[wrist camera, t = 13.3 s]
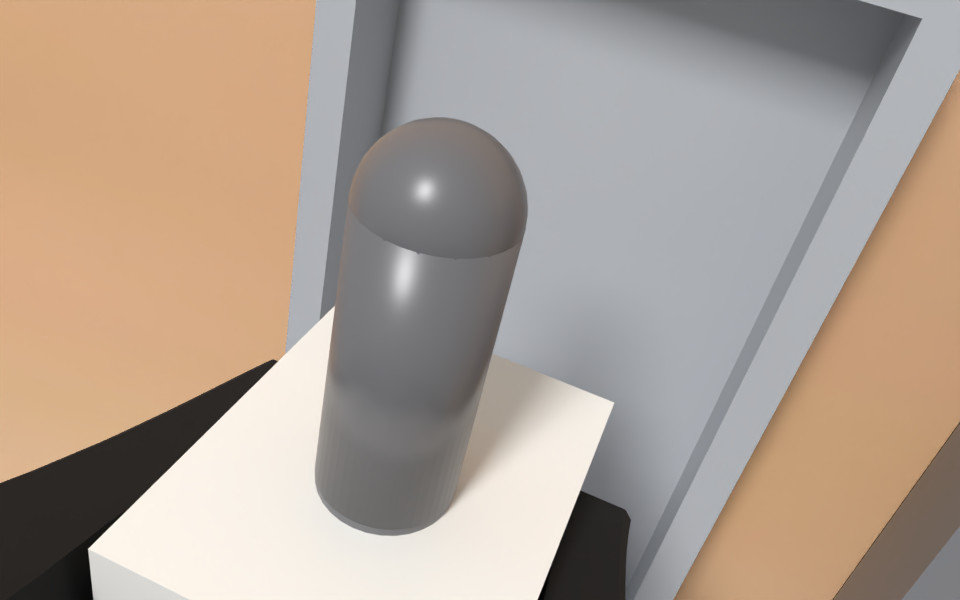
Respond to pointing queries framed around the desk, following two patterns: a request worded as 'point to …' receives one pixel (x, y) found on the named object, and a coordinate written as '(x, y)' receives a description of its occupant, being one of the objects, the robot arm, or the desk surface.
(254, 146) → the desk surface
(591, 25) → the tray
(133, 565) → the plug
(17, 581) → the robot arm
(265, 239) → the desk surface
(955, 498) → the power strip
